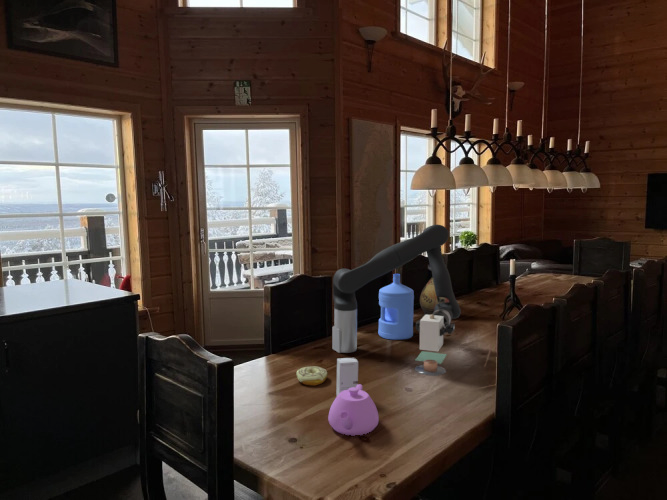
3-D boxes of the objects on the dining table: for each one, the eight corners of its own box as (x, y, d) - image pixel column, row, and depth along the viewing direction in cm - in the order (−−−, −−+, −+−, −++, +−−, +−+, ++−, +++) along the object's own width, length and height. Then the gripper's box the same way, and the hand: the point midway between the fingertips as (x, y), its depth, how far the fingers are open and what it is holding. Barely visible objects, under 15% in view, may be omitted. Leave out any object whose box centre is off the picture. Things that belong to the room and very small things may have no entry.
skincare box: (339, 401, 150) (339, 363, 149) (335, 395, 155) (336, 358, 153) (358, 399, 152) (358, 361, 150) (354, 393, 156) (355, 356, 155)
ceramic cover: (438, 351, 170) (438, 318, 169) (419, 349, 173) (420, 317, 171) (443, 344, 178) (443, 312, 177) (425, 342, 181) (425, 311, 179)
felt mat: (441, 364, 183) (441, 363, 183) (414, 361, 187) (414, 360, 187) (446, 355, 194) (446, 354, 194) (422, 352, 198) (422, 351, 198)
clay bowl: (429, 373, 173) (429, 364, 173) (420, 368, 177) (421, 360, 177) (439, 370, 175) (440, 362, 175) (431, 366, 180) (431, 358, 179)
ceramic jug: (437, 320, 247) (439, 262, 244) (413, 315, 258) (414, 259, 255) (457, 315, 258) (458, 259, 255) (433, 310, 270) (434, 256, 266)
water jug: (403, 329, 231) (404, 270, 228) (419, 338, 216) (420, 276, 213) (372, 332, 226) (373, 272, 223) (387, 342, 211) (388, 278, 208)
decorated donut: (296, 387, 162) (296, 376, 161) (296, 375, 172) (296, 364, 172) (327, 386, 162) (327, 375, 162) (326, 374, 173) (326, 364, 173)
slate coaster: (427, 378, 169) (427, 377, 169) (408, 368, 179) (408, 367, 179) (452, 373, 174) (452, 372, 174) (432, 363, 184) (432, 362, 184)
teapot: (317, 441, 126) (317, 401, 125) (337, 409, 145) (337, 374, 144) (370, 449, 122) (371, 408, 121) (383, 414, 141) (384, 379, 140)
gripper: (421, 309, 190) (410, 319, 175) (458, 312, 185) (451, 323, 169) (420, 328, 191) (410, 340, 176) (458, 331, 185) (450, 344, 170)
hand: (430, 331), depth 173 cm, fingers closed on ceramic cover, 6 cm apart
